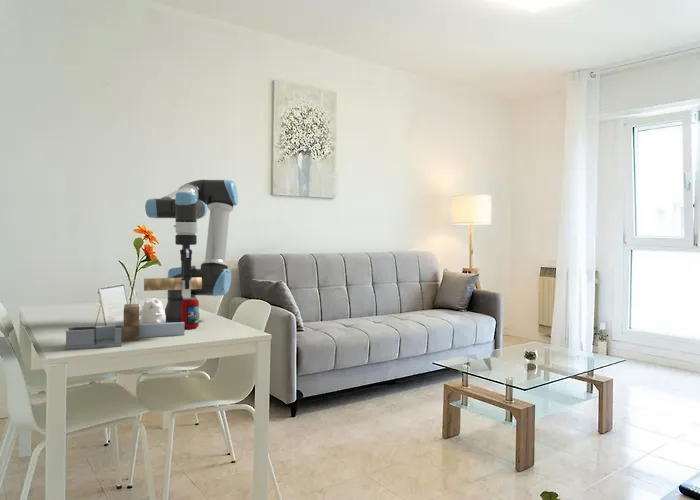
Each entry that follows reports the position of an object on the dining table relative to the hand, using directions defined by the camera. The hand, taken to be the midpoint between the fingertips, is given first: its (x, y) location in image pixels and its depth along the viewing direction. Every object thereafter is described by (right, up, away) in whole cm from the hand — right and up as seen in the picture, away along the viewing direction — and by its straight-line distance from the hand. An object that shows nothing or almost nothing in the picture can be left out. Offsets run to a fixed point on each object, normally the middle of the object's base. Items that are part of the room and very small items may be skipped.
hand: (186, 296), depth 191 cm
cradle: (-23, -14, -21) cm, 34 cm away
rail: (-14, -14, -6) cm, 21 cm away
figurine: (-16, -14, +10) cm, 24 cm away
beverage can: (-3, -14, +13) cm, 19 cm away
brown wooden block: (-18, -14, -5) cm, 23 cm away
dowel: (-4, +5, -2) cm, 7 cm away
